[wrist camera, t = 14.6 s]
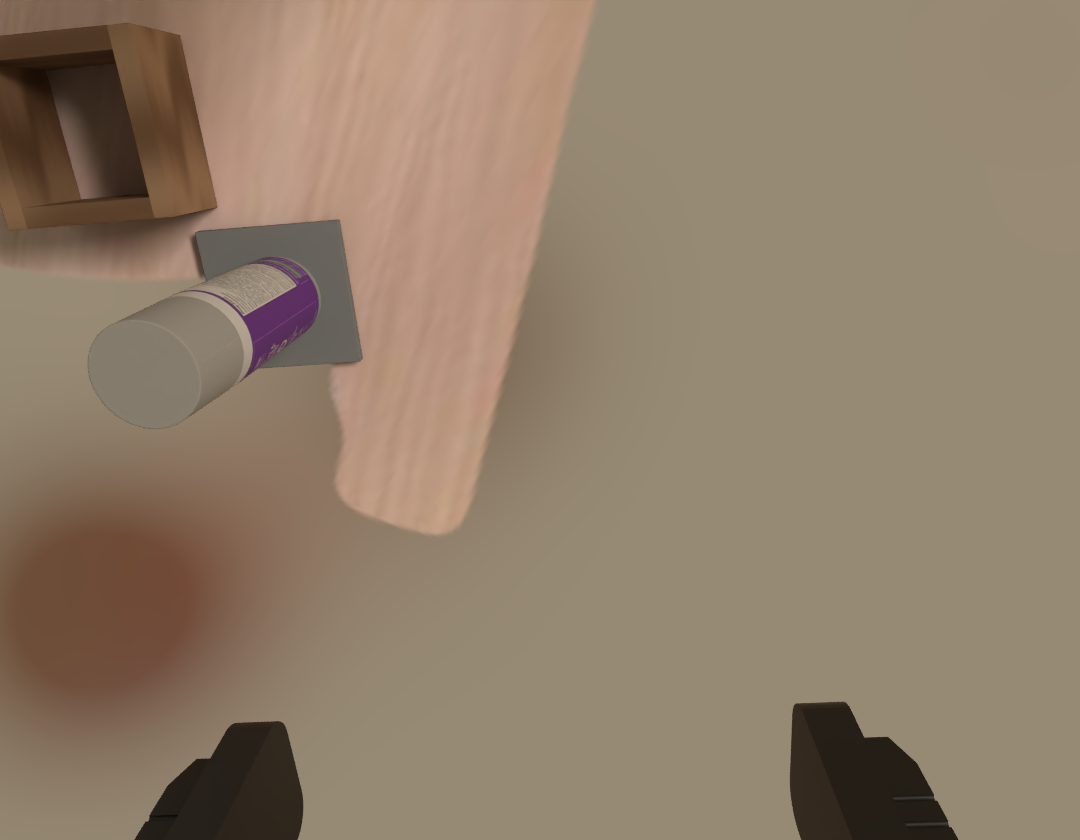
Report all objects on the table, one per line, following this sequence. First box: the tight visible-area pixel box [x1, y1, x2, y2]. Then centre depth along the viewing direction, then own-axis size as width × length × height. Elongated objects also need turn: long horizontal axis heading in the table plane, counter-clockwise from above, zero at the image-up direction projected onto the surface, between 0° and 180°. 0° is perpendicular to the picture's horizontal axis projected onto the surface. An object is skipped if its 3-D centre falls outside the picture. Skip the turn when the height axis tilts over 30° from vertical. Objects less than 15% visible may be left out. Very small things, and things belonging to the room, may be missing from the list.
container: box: [88, 256, 321, 429], centre depth 37 cm, size 5×5×15 cm
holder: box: [0, 23, 217, 230], centre depth 39 cm, size 9×9×5 cm
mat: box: [195, 220, 363, 368], centre depth 44 cm, size 8×8×1 cm
